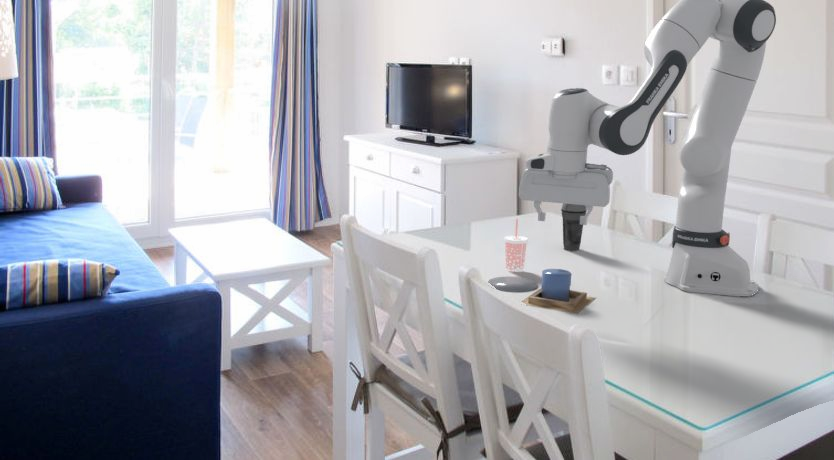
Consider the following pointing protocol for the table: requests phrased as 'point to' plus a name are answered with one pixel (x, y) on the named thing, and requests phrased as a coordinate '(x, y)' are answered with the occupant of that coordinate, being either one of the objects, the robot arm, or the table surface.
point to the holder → (560, 302)
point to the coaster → (513, 284)
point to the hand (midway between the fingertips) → (562, 222)
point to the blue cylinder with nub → (556, 284)
